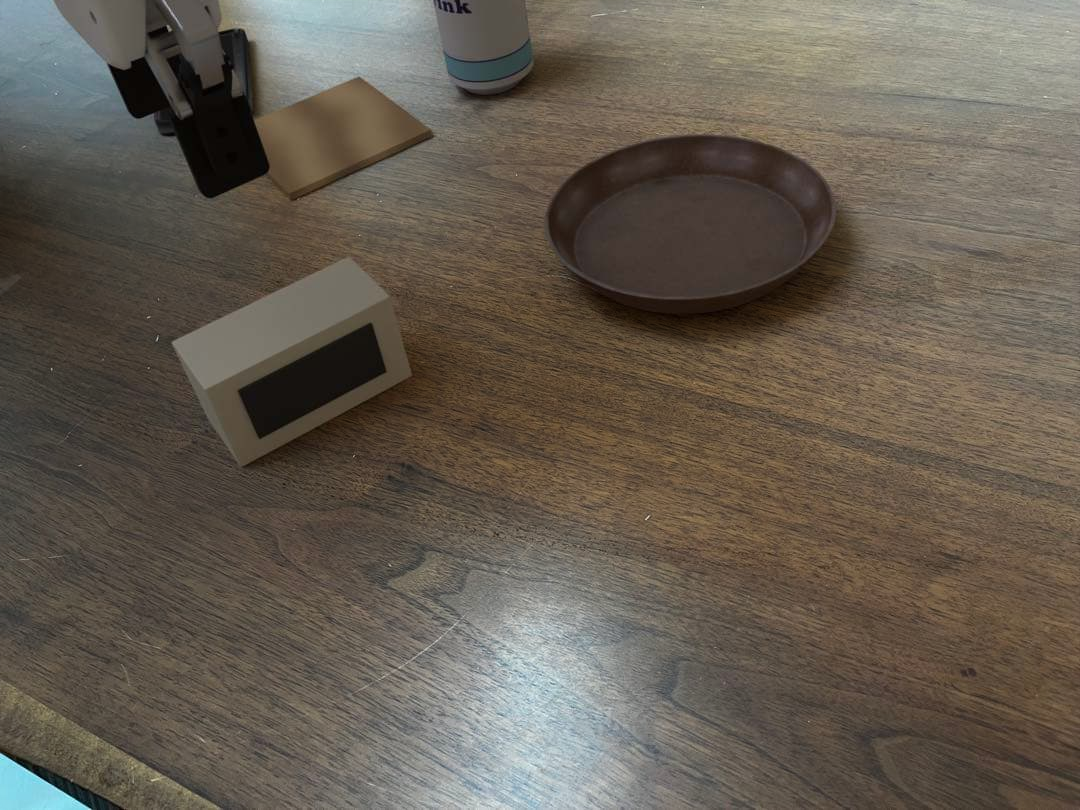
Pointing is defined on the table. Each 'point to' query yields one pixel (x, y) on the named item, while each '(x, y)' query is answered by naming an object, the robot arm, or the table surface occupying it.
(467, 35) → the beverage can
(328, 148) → the pad
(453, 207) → the table surface
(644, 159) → the plant saucer
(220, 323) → the clock
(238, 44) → the phone
